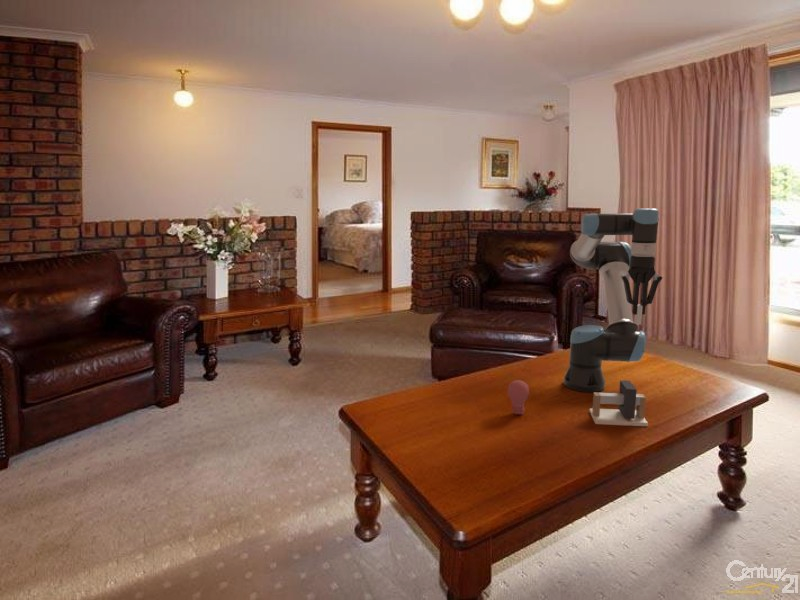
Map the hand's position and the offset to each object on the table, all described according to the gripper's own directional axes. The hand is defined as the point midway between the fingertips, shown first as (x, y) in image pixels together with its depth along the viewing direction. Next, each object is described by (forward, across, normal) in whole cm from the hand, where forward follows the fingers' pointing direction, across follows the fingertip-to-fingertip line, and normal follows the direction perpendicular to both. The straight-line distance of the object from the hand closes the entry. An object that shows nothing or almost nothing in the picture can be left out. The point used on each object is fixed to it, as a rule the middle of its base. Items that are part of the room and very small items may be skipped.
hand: (637, 323), depth 181 cm
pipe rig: (+29, -8, -13) cm, 33 cm away
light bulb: (+30, -40, -13) cm, 52 cm away
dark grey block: (+27, -5, -13) cm, 31 cm away
